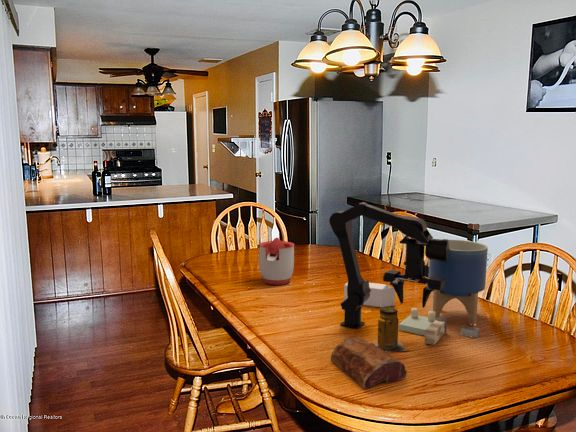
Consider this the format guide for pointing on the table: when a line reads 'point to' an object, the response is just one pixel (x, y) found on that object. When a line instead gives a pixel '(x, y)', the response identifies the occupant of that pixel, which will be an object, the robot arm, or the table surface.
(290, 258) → the citrus juicer
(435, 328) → the leg
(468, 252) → the planter
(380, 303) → the milk carton
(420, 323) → the stool seat
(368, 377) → the cured meat
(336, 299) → the table surface
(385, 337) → the condiment
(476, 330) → the stop block
